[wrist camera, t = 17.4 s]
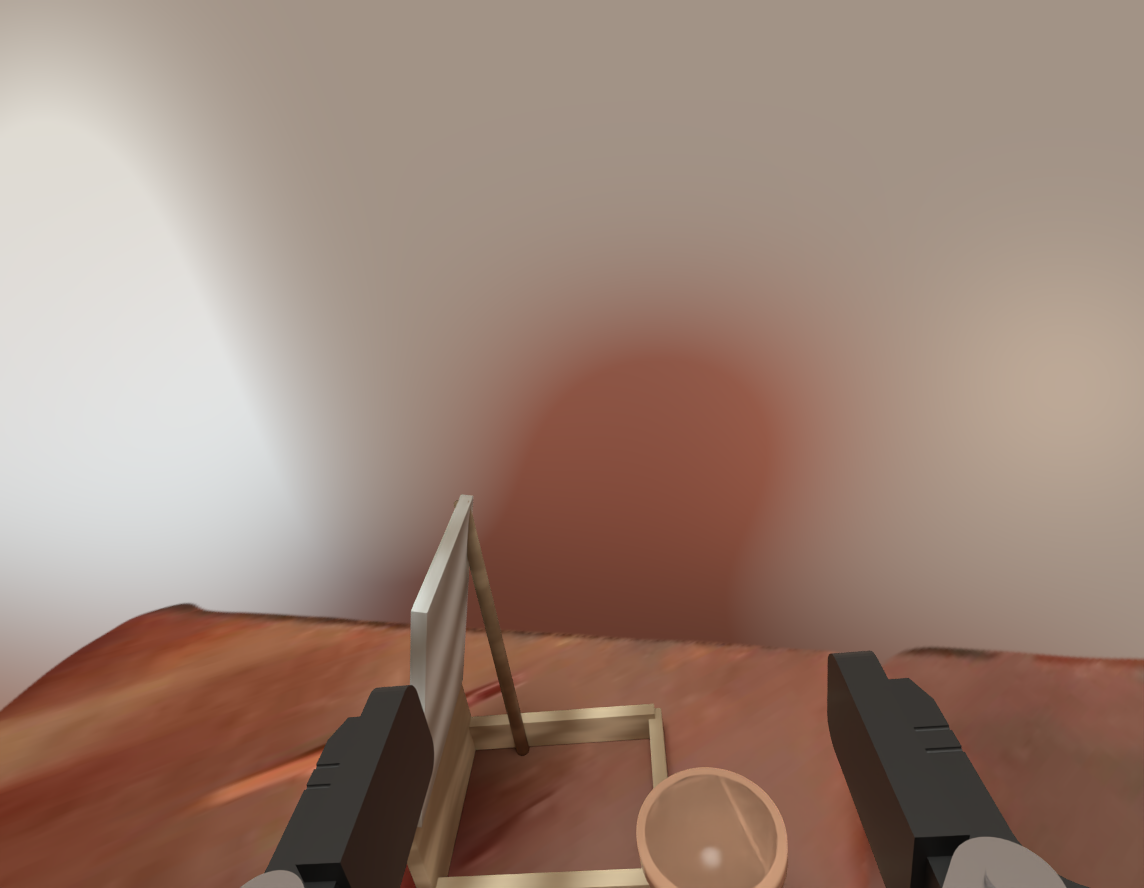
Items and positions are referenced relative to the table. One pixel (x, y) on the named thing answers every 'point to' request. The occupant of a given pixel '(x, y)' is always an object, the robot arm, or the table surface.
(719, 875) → the clay pot
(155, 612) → the table surface
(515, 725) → the cold frame
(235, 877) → the table surface
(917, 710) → the robot arm
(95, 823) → the table surface
